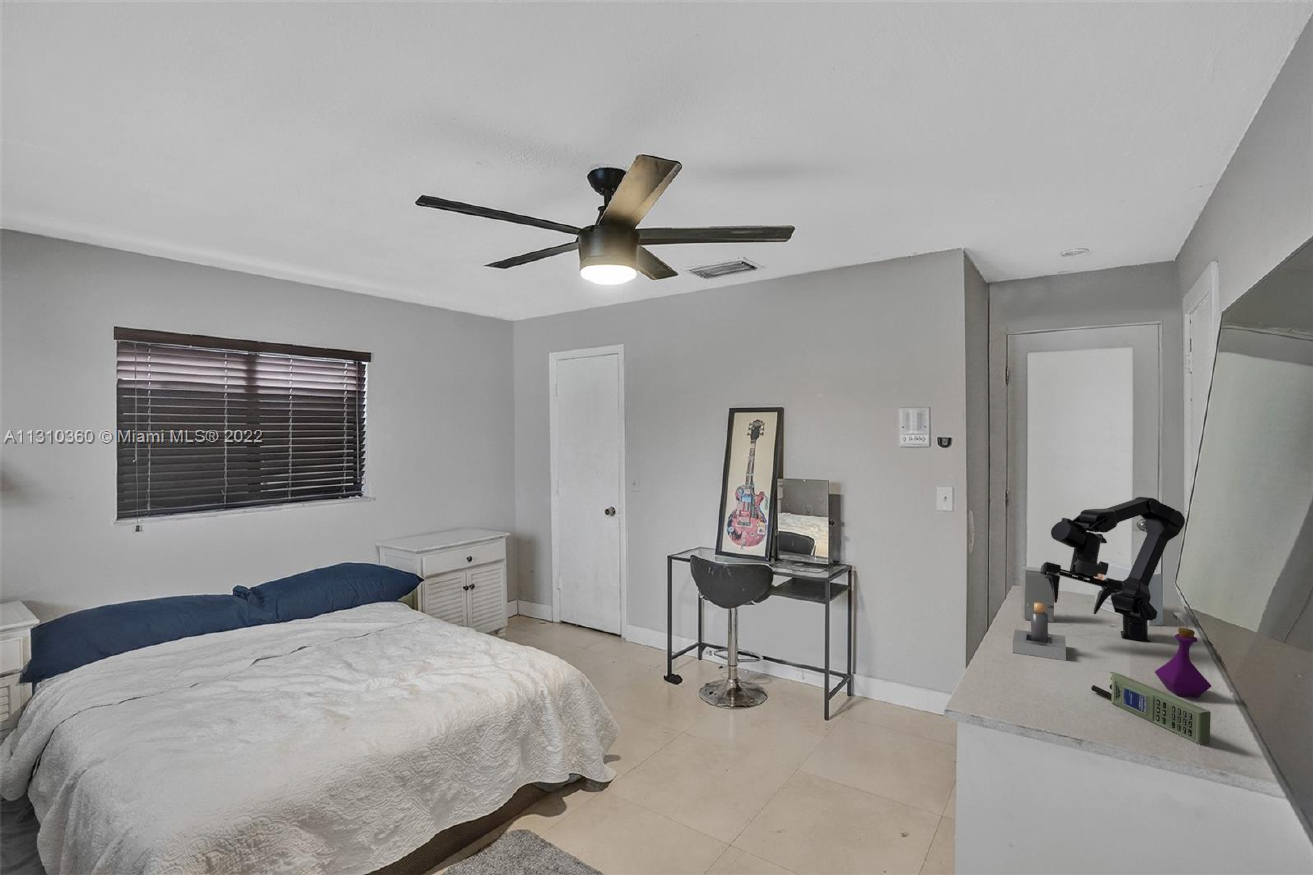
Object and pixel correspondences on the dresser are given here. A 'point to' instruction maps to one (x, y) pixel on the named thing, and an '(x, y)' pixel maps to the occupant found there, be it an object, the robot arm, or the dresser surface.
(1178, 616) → the perfume bottle
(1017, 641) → the socket plate
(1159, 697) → the handheld radio
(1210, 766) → the dresser surface
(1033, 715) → the dresser surface
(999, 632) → the dresser surface
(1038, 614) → the plug
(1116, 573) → the skincare box
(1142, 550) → the robot arm
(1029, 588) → the skincare box
